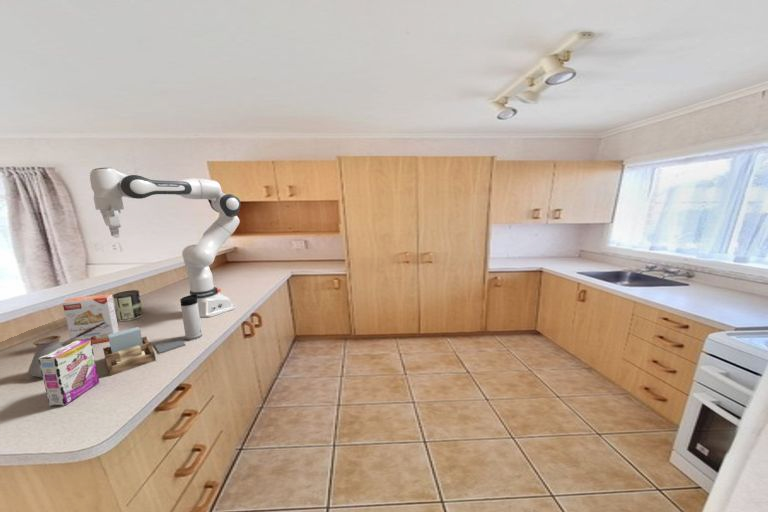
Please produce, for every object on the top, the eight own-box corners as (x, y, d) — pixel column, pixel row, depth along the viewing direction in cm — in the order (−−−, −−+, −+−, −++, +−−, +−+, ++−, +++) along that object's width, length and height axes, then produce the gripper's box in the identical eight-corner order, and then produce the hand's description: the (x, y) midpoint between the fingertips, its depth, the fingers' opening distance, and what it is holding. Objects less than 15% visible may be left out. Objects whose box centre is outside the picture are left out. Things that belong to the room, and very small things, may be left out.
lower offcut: (145, 358, 108) (143, 350, 108) (146, 362, 106) (145, 354, 105) (117, 367, 102) (115, 359, 102) (118, 371, 100) (116, 363, 99)
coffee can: (139, 312, 154) (135, 288, 152) (146, 316, 149) (141, 292, 146) (115, 318, 146) (110, 293, 143) (121, 323, 140) (116, 297, 138)
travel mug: (205, 335, 127) (200, 295, 123) (191, 341, 121) (184, 299, 118) (197, 332, 130) (192, 293, 126) (182, 338, 124) (176, 297, 120)
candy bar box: (66, 406, 82) (54, 357, 79) (49, 407, 82) (35, 358, 79) (101, 382, 93) (91, 339, 90) (85, 383, 93) (75, 339, 90)
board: (142, 350, 114) (138, 326, 112) (144, 354, 111) (140, 329, 109) (113, 359, 107) (107, 334, 105) (114, 363, 104) (109, 337, 102)
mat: (179, 338, 124) (179, 337, 124) (185, 345, 118) (185, 344, 118) (154, 345, 118) (154, 344, 118) (159, 353, 111) (159, 352, 111)
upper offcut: (139, 352, 107) (138, 345, 106) (142, 354, 105) (140, 347, 104) (119, 358, 102) (117, 351, 101) (121, 361, 100) (119, 354, 100)
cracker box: (71, 348, 116) (60, 302, 112) (79, 341, 121) (69, 297, 117) (115, 340, 122) (106, 297, 118) (120, 335, 127) (112, 293, 123)
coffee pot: (26, 385, 92) (14, 345, 89) (34, 370, 100) (24, 333, 97) (113, 361, 106) (106, 326, 103) (114, 349, 114) (107, 317, 111)
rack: (147, 346, 117) (146, 336, 116) (155, 360, 107) (153, 348, 106) (105, 359, 107) (103, 348, 106) (109, 375, 97) (107, 363, 96)
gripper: (122, 205, 114) (128, 237, 117) (116, 205, 127) (122, 234, 130) (101, 205, 109) (107, 239, 112) (97, 205, 122) (103, 235, 125)
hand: (115, 236), depth 121 cm, fingers open, 8 cm apart
